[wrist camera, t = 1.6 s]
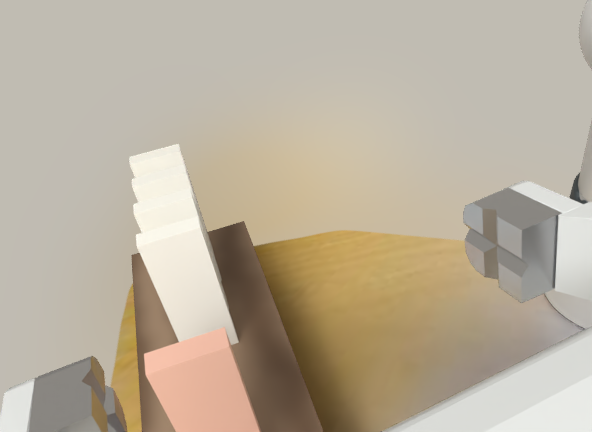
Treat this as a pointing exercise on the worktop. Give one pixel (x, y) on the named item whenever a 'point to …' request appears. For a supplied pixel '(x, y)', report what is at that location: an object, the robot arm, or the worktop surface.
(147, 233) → the domino
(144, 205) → the domino
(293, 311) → the worktop surface
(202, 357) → the domino
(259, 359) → the domino stand
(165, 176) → the domino
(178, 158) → the domino
